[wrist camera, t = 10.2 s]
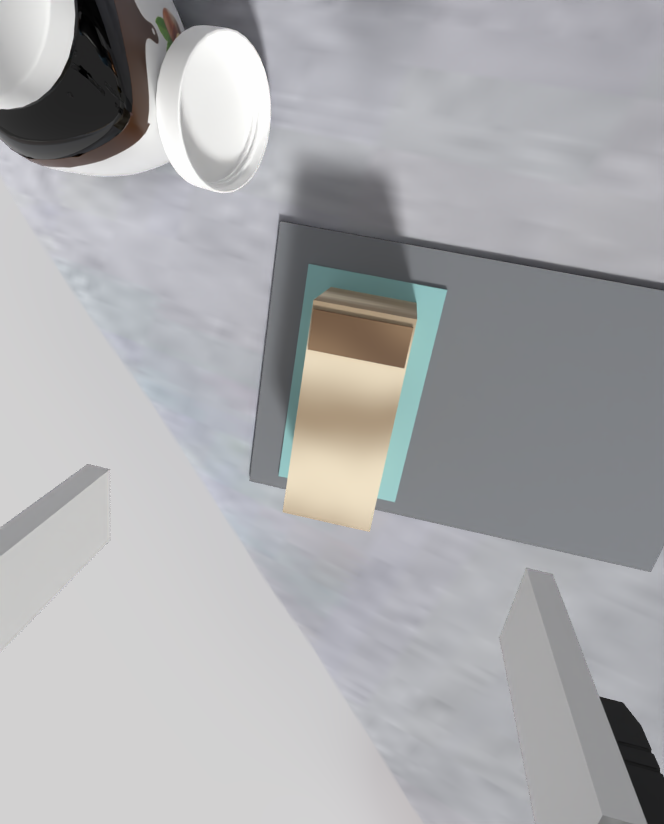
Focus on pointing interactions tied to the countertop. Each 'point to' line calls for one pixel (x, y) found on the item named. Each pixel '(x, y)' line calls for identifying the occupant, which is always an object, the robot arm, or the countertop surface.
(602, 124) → the countertop surface
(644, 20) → the countertop surface
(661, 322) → the rubber mat
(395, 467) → the pad
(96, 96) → the spread jar
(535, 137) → the countertop surface
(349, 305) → the birch block
